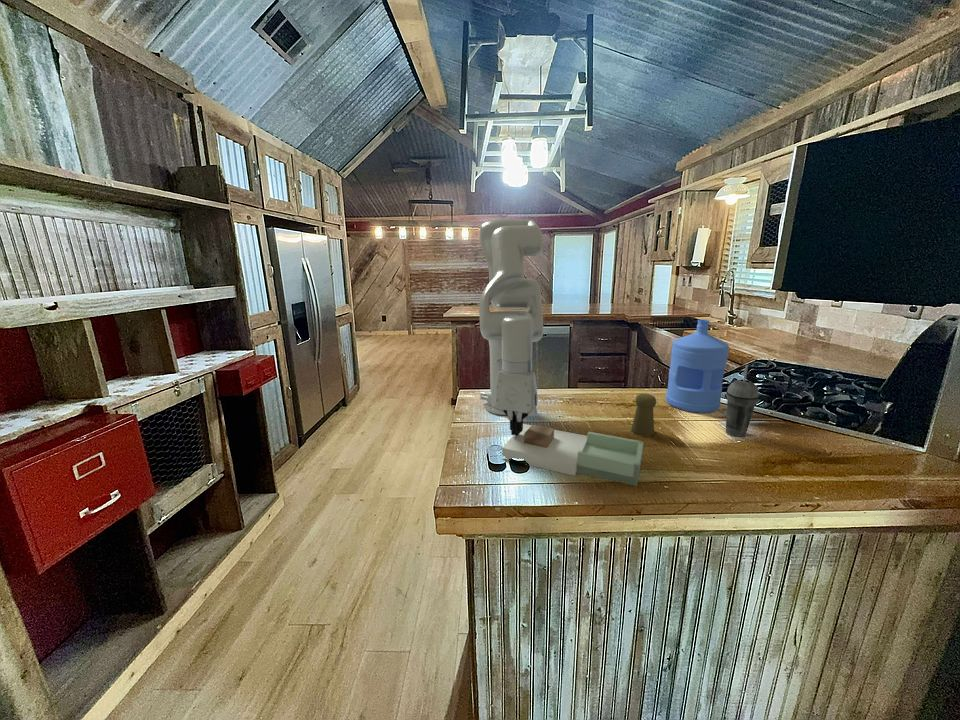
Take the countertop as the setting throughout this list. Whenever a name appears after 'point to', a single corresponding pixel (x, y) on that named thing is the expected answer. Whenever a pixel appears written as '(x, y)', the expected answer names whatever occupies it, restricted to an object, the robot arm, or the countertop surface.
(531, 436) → the walnut tile
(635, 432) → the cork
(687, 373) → the water jug
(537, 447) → the white flat slab
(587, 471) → the box
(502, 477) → the countertop surface
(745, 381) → the beverage cup
